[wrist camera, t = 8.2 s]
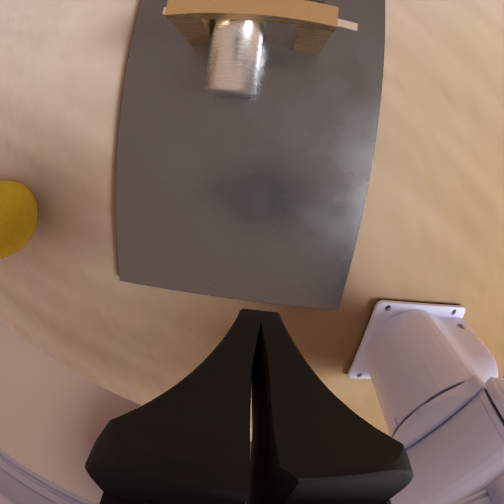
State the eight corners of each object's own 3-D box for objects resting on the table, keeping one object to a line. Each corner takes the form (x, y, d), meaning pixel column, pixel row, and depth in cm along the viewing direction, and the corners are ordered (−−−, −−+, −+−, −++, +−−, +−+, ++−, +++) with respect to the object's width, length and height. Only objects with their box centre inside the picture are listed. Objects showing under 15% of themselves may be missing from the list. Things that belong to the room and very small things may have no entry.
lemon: (39, 159, 17) (-37, 179, 10) (65, 219, 19) (-6, 258, 11) (8, 193, 18) (-57, 220, 11) (32, 246, 20) (-29, 286, 13)
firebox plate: (381, -21, 11) (409, -55, 6) (335, 305, 20) (353, 353, 15) (158, -40, 11) (131, -76, 6) (123, 276, 20) (88, 315, 15)
